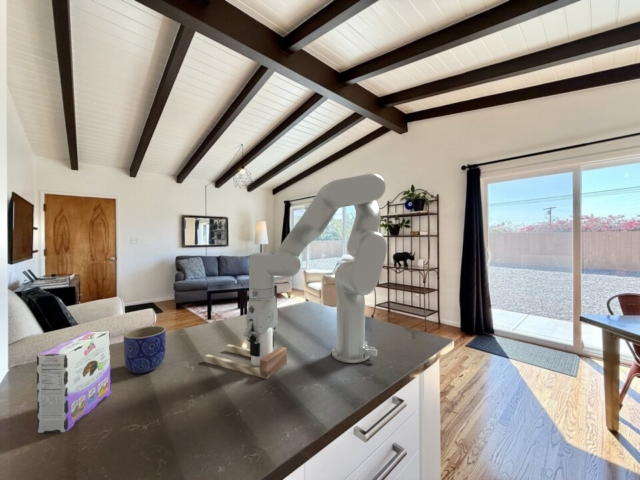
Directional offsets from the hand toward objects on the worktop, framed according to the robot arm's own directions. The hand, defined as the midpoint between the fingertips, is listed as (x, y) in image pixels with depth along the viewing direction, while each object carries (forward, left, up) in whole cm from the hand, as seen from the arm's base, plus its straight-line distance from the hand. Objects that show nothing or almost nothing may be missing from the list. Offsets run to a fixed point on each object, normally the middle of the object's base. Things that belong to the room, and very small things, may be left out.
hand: (262, 350), depth 86 cm
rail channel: (+6, 0, -5) cm, 8 cm away
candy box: (+24, +36, -5) cm, 44 cm away
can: (0, 0, -4) cm, 4 cm away
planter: (+31, +16, -5) cm, 36 cm away
